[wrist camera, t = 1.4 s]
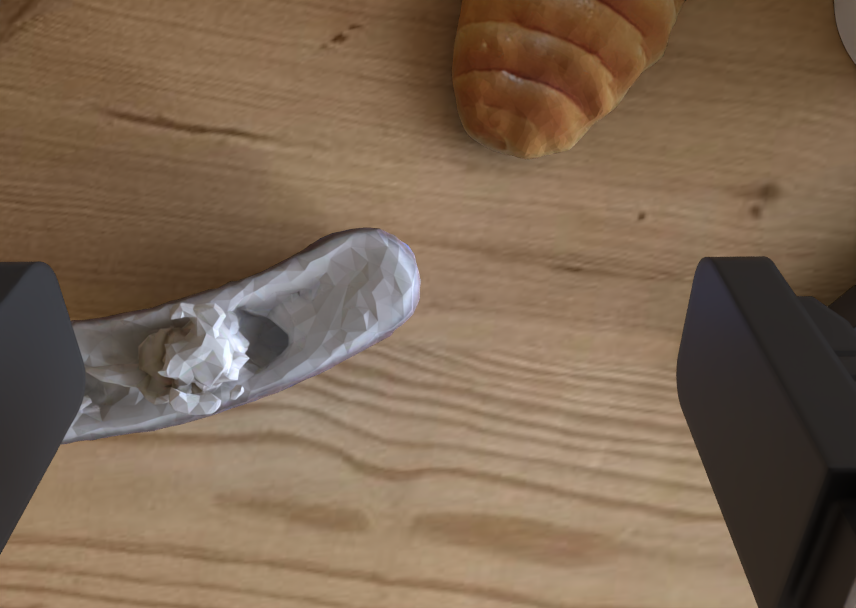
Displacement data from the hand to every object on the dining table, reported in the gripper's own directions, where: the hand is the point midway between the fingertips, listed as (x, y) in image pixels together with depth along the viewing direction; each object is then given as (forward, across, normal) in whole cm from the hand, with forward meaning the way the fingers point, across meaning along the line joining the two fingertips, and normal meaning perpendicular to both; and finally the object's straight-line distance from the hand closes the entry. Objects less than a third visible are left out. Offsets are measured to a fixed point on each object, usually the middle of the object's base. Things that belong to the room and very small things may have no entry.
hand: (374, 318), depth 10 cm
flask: (+12, +5, +8) cm, 15 cm away
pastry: (+18, -5, +1) cm, 19 cm away
